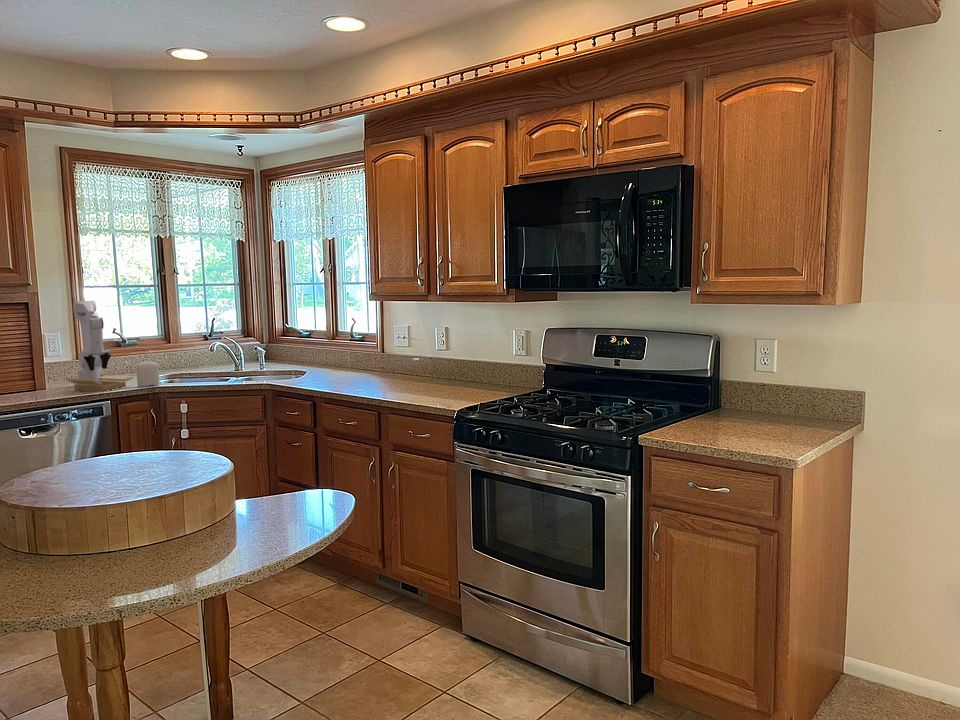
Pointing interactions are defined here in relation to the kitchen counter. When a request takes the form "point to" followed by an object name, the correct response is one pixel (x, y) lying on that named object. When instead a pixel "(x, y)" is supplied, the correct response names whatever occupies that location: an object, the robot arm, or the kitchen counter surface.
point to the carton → (100, 386)
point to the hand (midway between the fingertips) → (98, 369)
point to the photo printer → (147, 374)
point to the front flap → (83, 381)
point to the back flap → (115, 378)
